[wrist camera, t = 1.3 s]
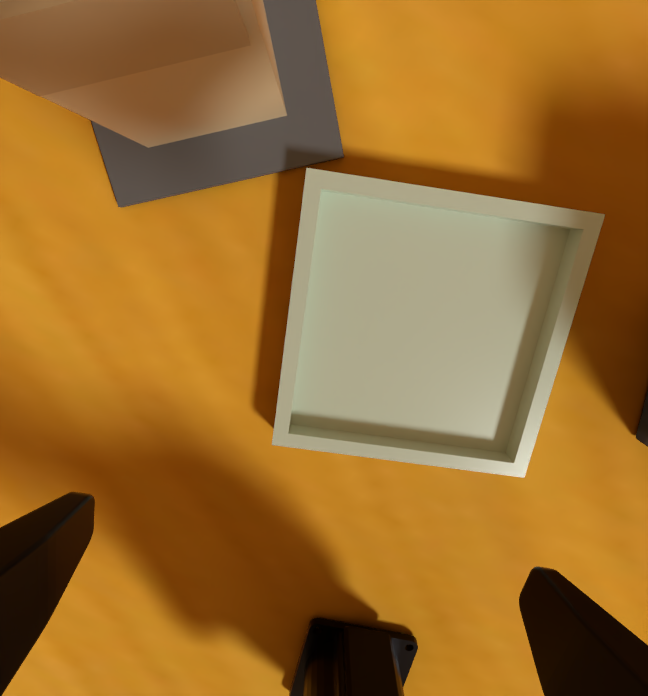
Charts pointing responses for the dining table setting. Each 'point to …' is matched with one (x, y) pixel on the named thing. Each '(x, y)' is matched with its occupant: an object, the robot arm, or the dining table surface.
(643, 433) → the box
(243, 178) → the mat
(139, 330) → the dining table surface
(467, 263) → the tray
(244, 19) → the carton
